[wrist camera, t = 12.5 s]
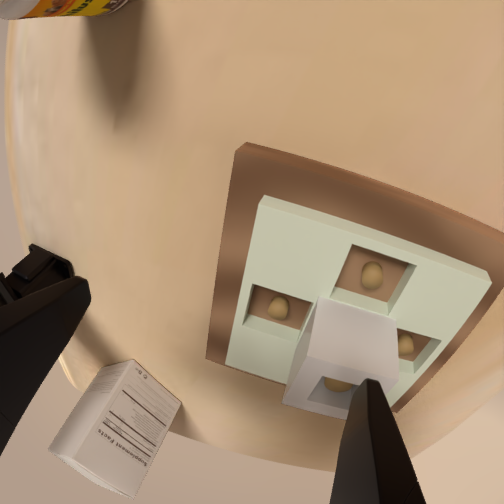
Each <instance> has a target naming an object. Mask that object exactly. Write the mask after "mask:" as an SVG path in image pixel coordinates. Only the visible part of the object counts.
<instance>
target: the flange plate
mask: <svg viewBox="0 0 504 504" xmlns="http://www.w3.org/2000/svg"><path fill="white" fill-rule="evenodd" d="M352 244H354V245H357V246H360V247H363V248H367V249H370V250H373V251H376V252H379V253H382V254H384V255H387V256H390V257H393V258H396V259H399V260H402V261H405V262H408V263H409V264H408V266H407V268H406V270H405V272H404V274H403V275H402V277H401V279H400V281H399V283H398V285H397V286H396V288H395V290H394V292H393V294H392V295H391V297H390V299H389V300H388V302H383V301H380V300H377V299H374V298H371V297H367V296H364V295H361V294H358V293H354V292H351V291H348V290H345V289H342V288H338V287H335V283H336V281H337V279H338V276H339V274H340V272H341V269H342V267H343V265H344V262H345V260H346V257H347V255H348V253H349V250H350V248H351V245H352ZM254 284H256V285H259V286H262V287H265V288H268V289H271V290H274V291H278V292H281V293H284V294H287V295H290V296H293V297H297V298H300V299H303V300H306V301H309V302H311V305H310V307H309V309H308V312H307V314H306V317H305V319H304V321H303V324H302V326H301V328H300V330H297V329H294V328H291V327H288V326H285V325H281V324H278V323H275V322H272V321H269V320H266V319H263V318H260V317H257V316H253V315H250V314H247V312H248V308H249V304H250V300H251V296H252V292H253V288H254ZM491 284H492V282H491V279H490V277H489V275H488V273H487V271H485V270H483V269H480V268H478V267H475V266H473V265H470V264H468V263H465V262H463V261H460V260H458V259H455V258H452V257H450V256H447V255H445V254H442V253H439V252H437V251H434V250H431V249H428V248H426V247H423V246H420V245H418V244H415V243H412V242H409V241H406V240H404V239H401V238H398V237H395V236H392V235H389V234H387V233H384V232H381V231H378V230H375V229H372V228H369V227H366V226H363V225H360V224H357V223H354V222H351V221H348V220H345V219H342V218H339V217H336V216H333V215H329V214H326V213H323V212H320V211H317V210H313V209H310V208H307V207H304V206H300V205H297V204H294V203H291V202H287V201H284V200H280V199H277V198H274V197H270V196H267V195H264V196H263V198H262V199H261V201H260V202H259V204H258V209H257V214H256V219H255V223H254V228H253V233H252V238H251V242H250V247H249V252H248V256H247V261H246V266H245V271H244V275H243V280H242V285H241V290H240V294H239V299H238V304H237V309H236V314H235V318H234V323H233V328H232V333H231V337H230V342H229V347H228V352H227V357H226V361H225V364H226V365H228V366H231V367H234V368H237V369H240V370H243V371H246V372H249V373H252V374H255V375H258V376H261V377H264V378H267V379H271V380H274V381H277V382H280V383H284V384H286V388H285V392H284V395H283V399H282V403H281V404H285V405H288V406H292V407H295V408H299V409H303V410H306V411H310V412H314V413H318V414H322V415H326V416H330V417H334V418H338V419H343V420H346V419H347V415H348V411H349V407H350V403H351V399H352V396H353V394H354V392H355V390H356V389H357V388H358V387H359V385H360V384H361V383H362V382H363V380H364V379H366V378H370V379H374V380H377V381H379V382H380V384H381V387H382V389H383V391H384V394H385V396H386V399H387V401H388V404H389V406H390V407H391V406H392V405H393V404H394V403H395V402H396V401H397V400H398V399H399V398H400V397H401V396H402V395H403V394H404V393H405V392H406V391H407V390H408V389H409V388H410V387H411V386H412V385H413V384H414V383H415V382H416V381H417V379H418V378H419V377H420V376H421V375H422V374H423V373H424V372H425V371H426V369H427V368H428V367H429V366H430V365H431V364H432V363H433V361H434V360H435V359H436V358H437V357H438V356H439V354H440V353H441V352H442V351H443V350H444V348H445V347H446V346H447V345H448V343H449V342H450V341H451V340H452V338H453V337H454V336H455V335H456V333H457V332H458V331H459V329H460V328H461V327H462V325H463V324H464V323H465V321H466V320H467V319H468V317H469V316H470V315H471V313H472V312H473V310H474V309H475V308H476V306H477V305H478V303H479V302H480V301H481V299H482V298H483V296H484V295H485V293H486V292H487V290H488V289H489V287H490V286H491ZM397 328H400V329H403V330H407V331H410V332H414V333H417V334H421V335H424V336H428V337H431V338H432V339H431V340H430V341H429V342H428V344H427V345H426V346H425V348H424V349H423V350H422V351H421V353H420V354H419V355H418V356H417V358H416V359H415V360H414V361H413V362H412V361H408V360H404V359H400V358H398V339H397ZM325 377H328V378H332V379H336V380H339V381H343V382H347V383H351V384H353V386H352V388H351V389H350V390H348V391H345V392H334V391H331V390H329V389H327V388H326V387H325V385H324V382H325Z"/></svg>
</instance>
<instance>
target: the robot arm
mask: <svg viewBox="0 0 504 504" xmlns="http://www.w3.org/2000/svg"><path fill="white" fill-rule="evenodd" d="M29 251H30V254H28V255H27V256H26V257H25V258H24V259H22V260H21V261H20V262H19V263H18V264H17V265H15V266H14V267H13V268H12V272H11V273H10V274H9V275H8V276H7V277H6V278H5V276H4V274H3V273H2V272H1V273H0V456H1V454H2V452H3V450H4V448H5V446H6V444H7V443H8V441H9V439H10V437H11V435H12V433H13V431H14V430H15V427H16V426H17V424H18V422H19V421H20V419H21V417H22V415H23V414H24V412H25V410H26V409H27V407H28V405H29V403H30V402H31V400H32V398H33V397H34V395H35V393H36V392H37V390H38V388H39V387H40V385H41V384H42V382H43V381H44V379H45V377H46V376H47V374H48V373H49V371H50V370H51V368H52V366H53V365H54V363H55V362H56V360H57V359H58V357H59V356H60V354H61V353H62V351H63V350H64V348H65V347H66V345H67V344H68V342H69V341H70V339H71V337H72V336H73V334H74V332H75V330H76V328H77V326H78V325H79V323H80V321H81V319H82V317H83V316H84V314H85V312H86V310H87V308H88V307H89V305H90V302H91V294H90V289H89V284H88V281H87V280H86V279H84V278H82V277H80V276H74V277H73V274H72V270H71V265H70V263H69V262H68V261H67V260H66V259H64V258H61V257H59V256H57V255H55V254H53V253H51V252H49V251H47V250H44V249H42V248H40V247H38V246H36V245H34V244H31V245H30V246H29ZM330 504H426V502H425V499H424V496H423V493H422V491H421V488H420V485H419V482H417V477H416V474H415V471H414V469H413V466H412V463H411V460H410V457H409V455H408V452H407V449H406V447H405V444H404V441H403V439H402V436H401V434H400V431H399V429H398V426H397V423H396V421H395V418H394V416H393V413H392V411H391V408H390V406H389V404H388V401H387V399H386V396H385V394H384V391H383V389H382V387H381V384H380V382H379V381H377V380H374V379H370V378H366V379H364V380H363V382H362V383H361V384H360V385H359V387H358V388H357V389H356V390H355V392H354V394H353V396H352V399H351V403H350V407H349V411H348V415H347V419H346V423H345V427H344V431H343V435H342V439H341V443H340V448H339V454H338V461H337V467H336V472H335V478H334V483H333V489H332V494H331V499H330Z"/></svg>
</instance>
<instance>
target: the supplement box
mask: <svg viewBox="0 0 504 504" xmlns="http://www.w3.org/2000/svg"><path fill="white" fill-rule="evenodd" d="M180 405H181V402H180V401H179V400H178V399H177V398H176V397H174V396H173V395H172V394H171V393H170V392H169V391H168V390H166V389H165V388H164V387H163V386H162V385H161V384H160V383H159V382H157V381H156V380H155V379H154V378H153V377H152V376H151V375H150V374H149V373H148V372H146V371H145V370H144V369H143V368H142V367H141V366H140V365H139V364H138V363H137V362H136V361H135V360H129V361H126V362H122V363H118V364H114V365H110V366H106V367H102V368H101V369H100V371H99V372H98V374H97V375H96V377H95V378H94V379H93V381H92V382H91V384H90V385H89V387H88V388H87V390H86V391H85V393H84V394H83V396H82V397H81V399H80V400H79V402H78V403H77V405H76V406H75V408H74V409H73V411H72V412H71V414H70V415H69V417H68V418H67V420H66V421H65V423H64V425H63V426H62V428H61V429H60V431H59V432H58V434H57V435H56V437H55V439H54V440H53V442H52V443H51V445H50V447H49V448H48V450H49V451H50V452H51V453H53V454H54V455H55V456H57V457H58V458H59V459H61V460H62V461H64V462H65V463H67V464H68V465H69V466H71V467H72V468H73V469H75V470H76V471H78V472H79V473H81V474H82V475H83V476H85V477H86V478H88V479H89V480H91V481H92V482H94V483H96V484H98V485H99V486H102V487H104V488H106V489H109V490H111V491H114V492H116V493H119V494H121V495H123V496H126V497H129V498H131V499H134V498H135V496H136V494H137V492H138V490H139V488H140V486H141V484H142V481H143V480H144V478H145V476H146V474H147V472H148V470H149V468H150V466H151V464H152V462H153V460H154V458H155V455H156V454H157V452H158V450H159V448H160V445H161V443H162V442H163V440H164V437H165V435H166V433H167V432H168V430H169V427H170V425H171V423H172V421H173V419H174V417H175V415H176V413H177V411H178V409H179V407H180Z"/></svg>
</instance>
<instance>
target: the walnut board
mask: <svg viewBox="0 0 504 504" xmlns="http://www.w3.org/2000/svg"><path fill="white" fill-rule="evenodd" d="M264 195H267V196H270V197H274V198H277V199H280V200H284V201H287V202H291V203H294V204H297V205H300V206H304V207H307V208H310V209H313V210H317V211H320V212H323V213H326V214H329V215H333V216H336V217H339V218H342V219H345V220H348V221H351V222H354V223H357V224H360V225H363V226H366V227H369V228H372V229H375V230H378V231H381V232H384V233H387V234H389V235H392V236H395V237H398V238H401V239H404V240H406V241H409V242H412V243H415V244H418V245H420V246H423V247H426V248H428V249H431V250H434V251H437V252H439V253H442V254H445V255H447V256H450V257H452V258H455V259H458V260H460V261H463V262H465V263H468V264H470V265H473V266H475V267H478V268H480V269H483V270H485V271H487V273H488V275H489V277H490V279H491V282H492V284H491V286H490V287H489V289H488V290H487V292H486V293H485V295H484V296H483V298H482V299H481V301H480V302H479V303H478V305H477V306H476V308H475V309H474V310H473V312H472V313H471V315H470V316H469V317H468V319H467V320H466V321H465V323H464V324H463V325H462V327H461V328H460V329H459V331H458V332H457V333H456V335H455V336H454V337H453V338H452V340H451V341H450V342H449V343H448V345H447V346H446V347H445V348H444V350H443V351H442V352H441V353H440V354H439V356H438V357H437V358H436V359H435V360H434V361H433V363H432V364H431V365H430V366H429V367H428V368H427V369H426V371H425V372H424V373H423V374H422V375H421V376H420V377H419V378H418V379H417V381H416V382H415V383H414V384H413V385H412V386H411V387H410V388H409V389H408V390H407V391H406V392H405V393H404V394H403V395H402V396H401V397H400V398H399V399H398V400H397V401H396V402H395V403H394V404H393V405H392V406H391V407H390V408H391V411H392V412H396V413H397V412H398V411H399V410H400V409H401V408H403V407H404V406H405V405H406V404H407V403H408V402H409V401H410V400H411V399H412V398H413V397H414V396H415V395H416V394H417V393H418V392H419V391H420V390H421V389H422V388H423V387H424V386H425V385H426V384H427V383H428V381H429V380H430V379H431V378H432V377H433V376H434V375H435V374H436V373H437V372H438V371H439V370H440V368H441V367H442V366H443V365H444V364H445V363H446V362H447V361H448V359H449V358H450V357H451V356H452V355H453V354H454V352H455V351H456V350H457V349H458V348H459V346H460V345H461V344H462V343H463V342H464V340H465V339H466V338H467V337H468V335H469V334H470V333H471V332H472V330H473V329H474V328H475V326H476V325H477V324H478V322H479V321H480V320H481V318H482V317H483V316H484V314H485V313H486V312H487V310H488V309H489V308H490V306H491V305H492V303H493V302H494V300H495V299H496V298H497V296H498V295H499V293H500V292H501V290H502V289H503V287H504V233H502V232H500V231H498V230H496V229H494V228H492V227H490V226H488V225H486V224H483V223H481V222H479V221H477V220H475V219H472V218H470V217H468V216H466V215H463V214H461V213H459V212H457V211H454V210H452V209H449V208H447V207H445V206H442V205H440V204H437V203H435V202H433V201H430V200H428V199H425V198H422V197H420V196H417V195H415V194H412V193H410V192H407V191H404V190H402V189H399V188H396V187H394V186H391V185H388V184H385V183H382V182H380V181H377V180H374V179H371V178H368V177H365V176H362V175H359V174H356V173H353V172H350V171H347V170H344V169H341V168H338V167H334V166H331V165H328V164H325V163H321V162H318V161H315V160H311V159H308V158H305V157H301V156H298V155H294V154H290V153H287V152H283V151H279V150H276V149H272V148H268V147H264V146H260V145H256V144H252V143H248V142H246V143H245V144H243V145H242V146H241V147H240V148H238V149H237V150H236V151H235V156H234V162H233V168H232V174H231V180H230V187H229V193H228V199H227V206H226V212H225V219H224V225H223V232H222V238H221V245H220V252H219V259H218V266H217V273H216V280H215V288H214V295H213V303H212V310H211V318H210V326H209V333H208V341H207V350H206V358H205V359H208V360H210V361H213V362H216V363H219V364H221V365H224V366H227V367H230V368H233V369H236V370H239V371H241V372H244V373H247V374H250V375H254V376H257V377H260V378H263V379H266V380H269V381H272V382H276V383H279V384H282V385H286V384H284V383H280V382H277V381H274V380H271V379H267V378H264V377H261V376H258V375H255V374H252V373H249V372H246V371H243V370H240V369H237V368H234V367H231V366H228V365H226V364H225V361H226V357H227V352H228V347H229V342H230V337H231V333H232V328H233V323H234V318H235V314H236V309H237V304H238V299H239V294H240V290H241V285H242V280H243V275H244V271H245V266H246V261H247V256H248V252H249V247H250V242H251V238H252V233H253V228H254V223H255V219H256V214H257V209H258V204H259V202H260V201H261V199H262V198H263V196H264ZM408 264H409V263H408V262H405V261H402V260H399V259H396V258H393V257H390V256H387V255H384V254H382V253H379V252H376V251H373V250H370V249H367V248H363V247H360V246H357V245H354V244H352V245H351V248H350V250H349V253H348V255H347V257H346V260H345V262H344V265H343V267H342V269H341V272H340V274H339V276H338V279H337V281H336V283H335V287H338V288H342V289H345V290H348V291H351V292H354V293H358V294H361V295H364V296H367V297H371V298H374V299H377V300H380V301H383V302H388V300H389V299H390V297H391V295H392V294H393V292H394V290H395V288H396V286H397V285H398V283H399V281H400V279H401V277H402V275H403V274H404V272H405V270H406V268H407V266H408ZM310 305H311V302H309V301H306V300H303V299H300V298H297V297H293V296H290V295H287V294H284V293H281V292H278V291H274V290H271V289H268V288H265V287H262V286H259V285H256V284H254V288H253V292H252V296H251V300H250V304H249V308H248V312H247V314H250V315H253V316H257V317H260V318H263V319H266V320H269V321H272V322H275V323H278V324H281V325H285V326H288V327H291V328H294V329H297V330H300V328H301V326H302V324H303V321H304V319H305V317H306V314H307V312H308V309H309V307H310ZM397 339H398V358H400V359H404V360H408V361H412V362H413V361H414V360H415V359H416V358H417V356H418V355H419V354H420V353H421V351H422V350H423V349H424V348H425V346H426V345H427V344H428V342H429V341H430V340H431V339H432V338H431V337H428V336H424V335H421V334H417V333H414V332H410V331H407V330H403V329H400V328H397ZM324 385H325V387H326V388H327V389H329V390H331V391H334V392H345V391H348V390H350V389H351V388H352V386H353V384H351V383H347V382H343V381H339V380H336V379H332V378H328V377H325V382H324Z"/></svg>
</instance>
